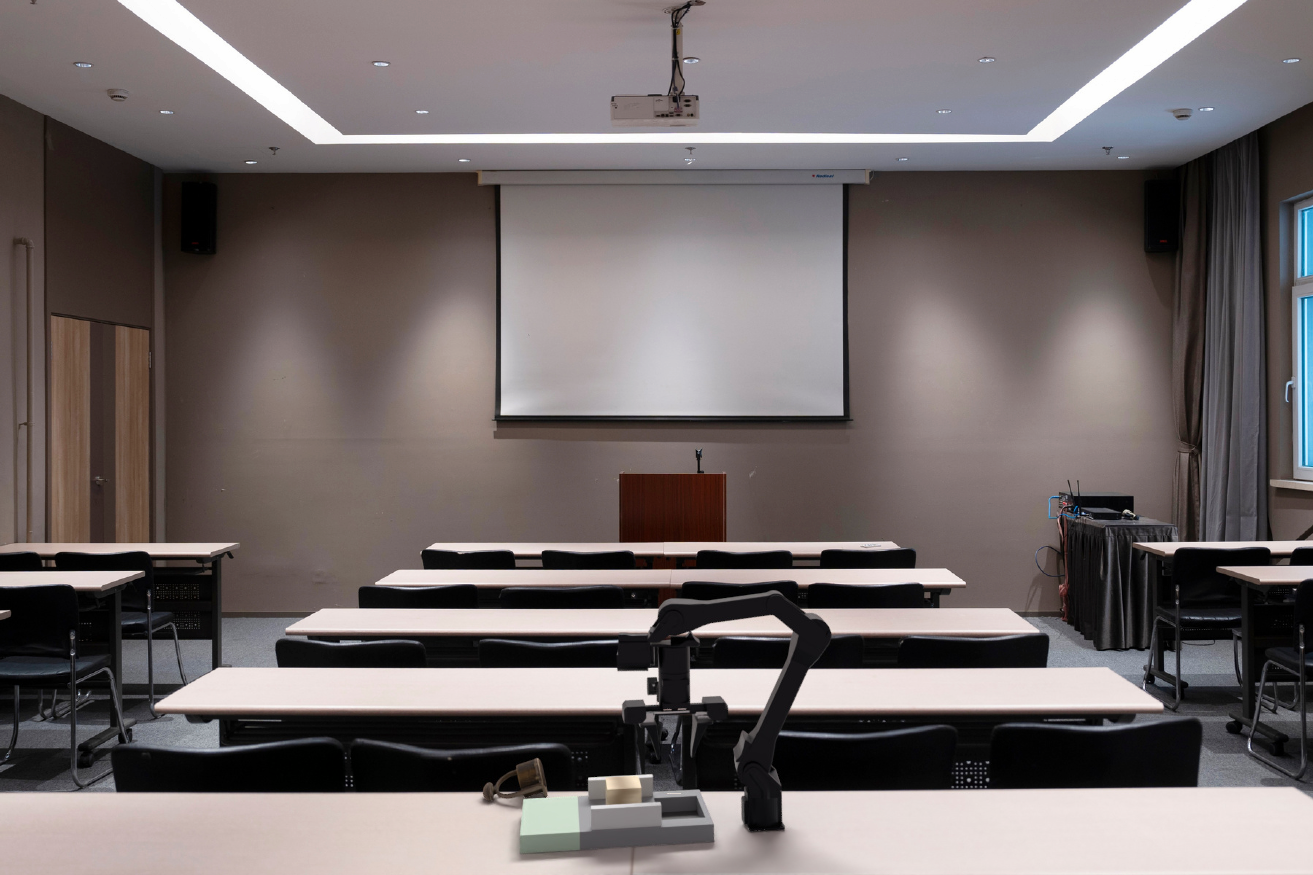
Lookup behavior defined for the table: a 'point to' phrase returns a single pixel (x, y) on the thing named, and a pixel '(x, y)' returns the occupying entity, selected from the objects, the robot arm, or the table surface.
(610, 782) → the maple block
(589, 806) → the stepped grey tray
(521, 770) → the brown cylinder with loop
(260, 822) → the table surface
